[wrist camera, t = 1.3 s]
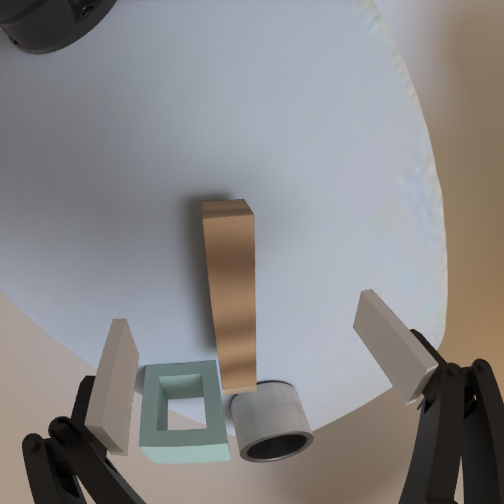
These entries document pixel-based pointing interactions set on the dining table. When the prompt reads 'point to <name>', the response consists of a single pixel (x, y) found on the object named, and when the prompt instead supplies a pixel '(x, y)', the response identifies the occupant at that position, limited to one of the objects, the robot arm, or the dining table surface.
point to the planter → (270, 423)
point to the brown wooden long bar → (232, 290)
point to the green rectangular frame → (155, 415)
